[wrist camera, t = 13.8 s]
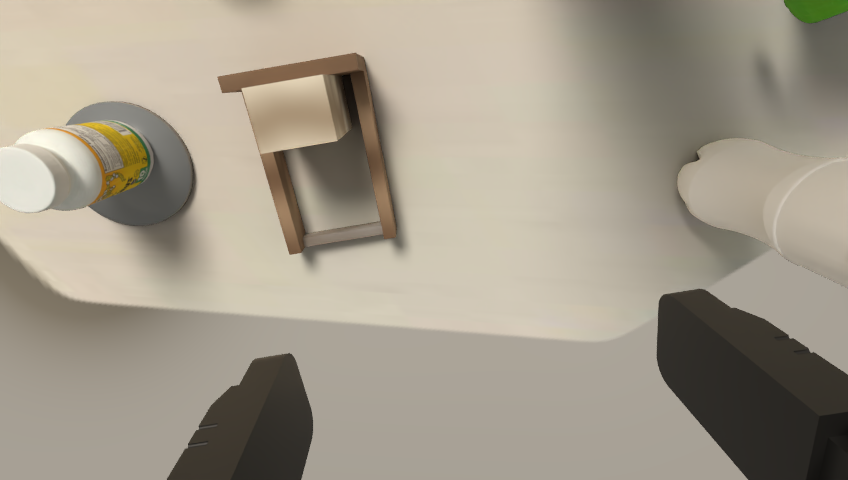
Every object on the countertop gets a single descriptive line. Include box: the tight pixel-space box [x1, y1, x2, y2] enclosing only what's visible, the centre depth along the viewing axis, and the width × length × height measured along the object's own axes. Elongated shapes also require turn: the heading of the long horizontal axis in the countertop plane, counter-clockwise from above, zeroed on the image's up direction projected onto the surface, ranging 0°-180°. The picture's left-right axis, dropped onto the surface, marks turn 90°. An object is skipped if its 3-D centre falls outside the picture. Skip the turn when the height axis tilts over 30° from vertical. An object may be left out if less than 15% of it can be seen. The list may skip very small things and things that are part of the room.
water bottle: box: [677, 138, 848, 288], centre depth 26 cm, size 7×7×25 cm
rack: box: [218, 53, 397, 255], centre depth 32 cm, size 14×9×8 cm, turn 9°
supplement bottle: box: [0, 120, 154, 213], centre depth 30 cm, size 5×5×10 cm
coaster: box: [66, 101, 193, 226], centre depth 35 cm, size 10×10×1 cm
